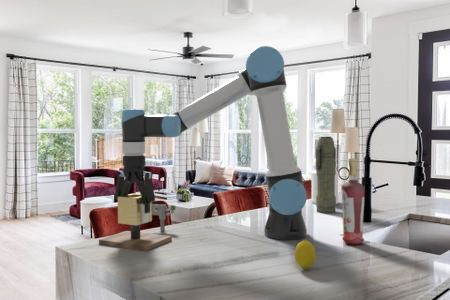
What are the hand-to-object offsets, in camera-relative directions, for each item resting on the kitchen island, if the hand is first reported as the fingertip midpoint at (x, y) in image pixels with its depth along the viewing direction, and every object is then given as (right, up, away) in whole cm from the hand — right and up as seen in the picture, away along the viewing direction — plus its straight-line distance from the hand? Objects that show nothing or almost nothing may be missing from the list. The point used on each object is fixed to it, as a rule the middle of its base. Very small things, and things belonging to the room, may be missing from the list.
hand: (135, 221), depth 139 cm
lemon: (+52, -8, -30) cm, 61 cm away
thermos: (+78, -5, +51) cm, 94 cm away
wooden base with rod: (0, -7, 0) cm, 7 cm away
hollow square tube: (0, 0, 0) cm, 0 cm away
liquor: (+73, -7, -4) cm, 73 cm away
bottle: (+83, -4, +75) cm, 112 cm away
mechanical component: (+7, -7, +17) cm, 19 cm away
